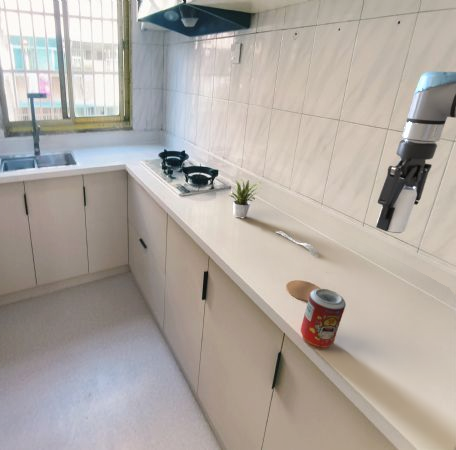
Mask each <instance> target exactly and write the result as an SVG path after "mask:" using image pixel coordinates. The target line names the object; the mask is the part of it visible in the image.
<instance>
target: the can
mask: <svg viewBox="0 0 456 450" xmlns="http://www.w3.org/2000/svg"><path fill="white" fill-rule="evenodd" d="M416 189H417V188H416V187H413V188H412V187H409V186H406V185H404V187H403V189H402V191H401V193H400V195H399V197H398V198H397V200H396V202H395V204H394V206H393V207H394V208H395V210H394V213H393V216H392V219H391V222H390V225H389V228H388V231H386V232H388V233H392V234H402V233H403V232H405V230H406V228H407V225H408V222H409V220H410V217H411V214H412V211H413V208H414V205H415V204H414V202H415V199H416V196H417V192H416ZM381 210H382V208H381V209H380V212H379V215H378V219H377V221H376V224H377V223H378V220H379V216H380V213H381Z"/></svg>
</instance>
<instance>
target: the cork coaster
mask: <svg viewBox="0 0 456 450" xmlns="http://www.w3.org/2000/svg"><path fill="white" fill-rule="evenodd" d="M285 289H286V292H287V293H288V294H289V295H291V296H292V297H293V298H295V299H297V300H299V301H303V302H307V303H308V300H309V296H310V293H311V292H312V291H313V290H316V289H322V288H321V287H320V286H319V285H316V284H315V283H312V282H309V281H307V280H301V279H300V280H298V279H296V280H291V281H288V282H287V283H286V286H285Z"/></svg>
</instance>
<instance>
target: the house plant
mask: <svg viewBox="0 0 456 450" xmlns="http://www.w3.org/2000/svg"><path fill="white" fill-rule="evenodd" d="M240 180H241V182H242V186H241V184H240V183H239V181H238V180H235V182H236V186H237V188H235V187H233V188H234V190H235V192H236V193H234V192H233V191H229V192H230V193H231V194H232V195H228V197H231V198H233V199H234V200H233V201H232V206H233V207H232V209H233V210H232V211H233V216H234V215H235V216H238V217H246V218H247V215H248V213H249V209H250V206H251V203H250V202H252V203H254V201H255V200H256V199H255V197H254V196H255V195H257V192H254V191H256V190H257V189H262V188H261V187H259V186H258V185H260V184H261V182H257V183H254V184H253V185H251V184H250V181H249V180H247V181H246V183H245V182H244V180H243V179H242V178H240ZM227 184H228V185H231V186H232V184H231V183H228V182H227ZM256 186H258V187H256Z"/></svg>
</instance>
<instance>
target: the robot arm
mask: <svg viewBox="0 0 456 450" xmlns="http://www.w3.org/2000/svg"><path fill="white" fill-rule="evenodd" d="M412 97H413V98H412V100H411V104H410V108H409V110H408V111H409V112H408V114H407V118H406V122H405V124H404V126H403V131H402V135H401V138H402V139H400V141H399V144H398V147H397V150H396V155H397V156H398V157H399V160H398V162H397V164H396V165H395V166H394V165H389V166H388V168H387V175H386V178H385V180H384V182H383V185H382V188H381V191H380V193H379V197H378V200H377V204H379V205H381V209H382V210H381V209H380V212H381V213H380V212H379V215H380V216H379V215H378V218H379V220H378V219H377V222H378V223H377V222H376V226H375V227H376V228H377V229H379V230H382V231H384V232H387V231H388V228H389V225H390V222H391V219H392V216H393V213H394V210H395V208H394V207H393V206H394V204H395V202H396V200H397V198H398V197H399V195H400V193H401V191H402V189H403V187H404V185H406V186H409V187H412V188H413V187H416V188H417V189H416V192H417V196H416V199H415V202H414V205H415V206H417V205H418V204H419V202H420V200H421V198H422V195H423V192H424V189H425V185H426V182H427V178H428V175H429V173H430V171H431V168H432V166H433V165H432V163H431V164H430V163H427V162H426V161H427V160H432V159H433V158H434V156H435V153H436V150H437V148H438V144H437V142H439V141H440V139H441V137H442V134H443V130H444V129H445V128H444V127H445V124H446V121H447V119H448V118H454V119H456V71H426V72H425V73H423V74H421V76H420V78H419V81H418V83H417V86H416V89H415V90H414V93H413V96H412Z"/></svg>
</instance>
